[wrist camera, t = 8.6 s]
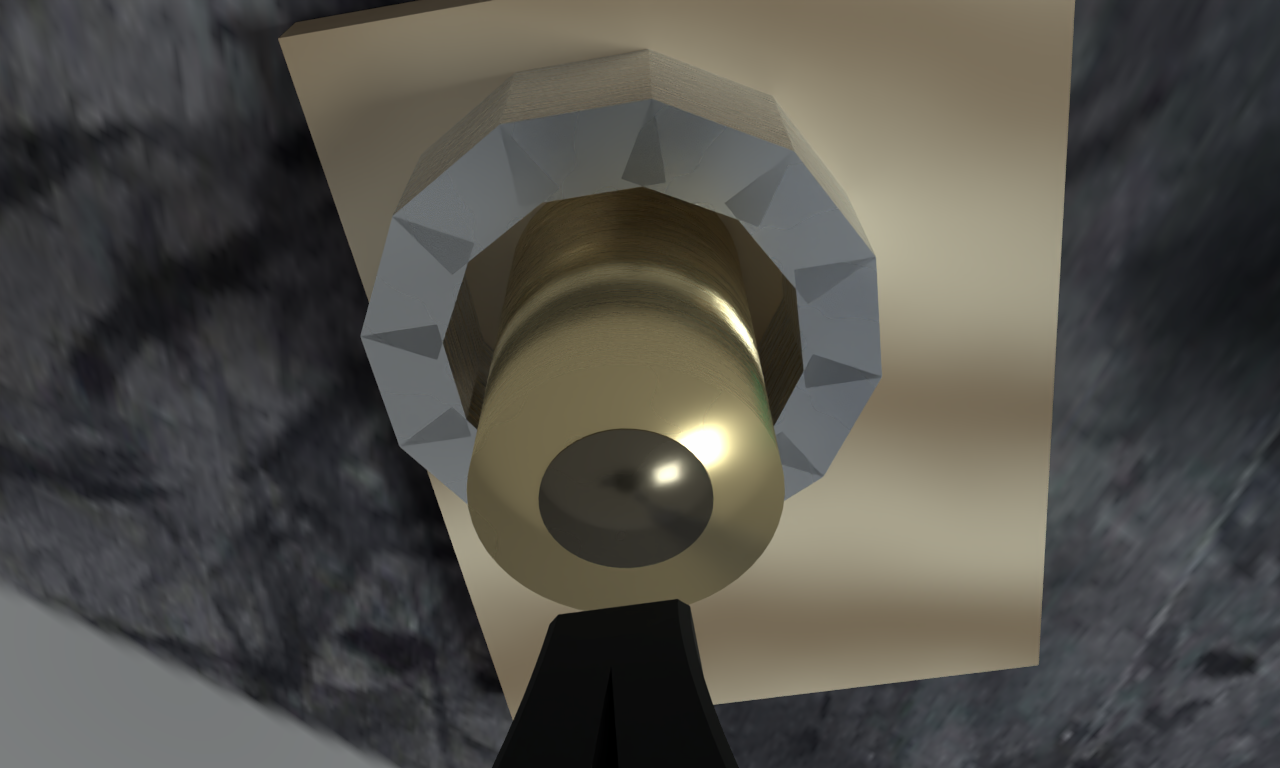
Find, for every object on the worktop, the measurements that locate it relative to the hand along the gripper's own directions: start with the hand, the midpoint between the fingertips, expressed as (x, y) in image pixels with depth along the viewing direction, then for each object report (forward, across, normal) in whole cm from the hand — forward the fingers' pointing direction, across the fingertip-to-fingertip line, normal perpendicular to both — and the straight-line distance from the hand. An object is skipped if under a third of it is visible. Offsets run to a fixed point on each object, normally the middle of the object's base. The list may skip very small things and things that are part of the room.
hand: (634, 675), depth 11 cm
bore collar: (+10, 0, 0) cm, 10 cm away
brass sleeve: (+9, 0, 0) cm, 9 cm away
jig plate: (+10, -1, +3) cm, 10 cm away
